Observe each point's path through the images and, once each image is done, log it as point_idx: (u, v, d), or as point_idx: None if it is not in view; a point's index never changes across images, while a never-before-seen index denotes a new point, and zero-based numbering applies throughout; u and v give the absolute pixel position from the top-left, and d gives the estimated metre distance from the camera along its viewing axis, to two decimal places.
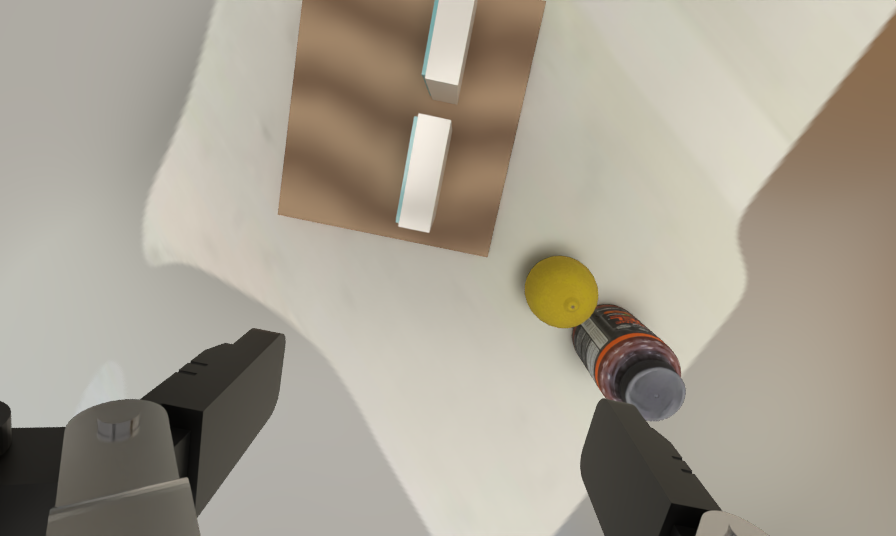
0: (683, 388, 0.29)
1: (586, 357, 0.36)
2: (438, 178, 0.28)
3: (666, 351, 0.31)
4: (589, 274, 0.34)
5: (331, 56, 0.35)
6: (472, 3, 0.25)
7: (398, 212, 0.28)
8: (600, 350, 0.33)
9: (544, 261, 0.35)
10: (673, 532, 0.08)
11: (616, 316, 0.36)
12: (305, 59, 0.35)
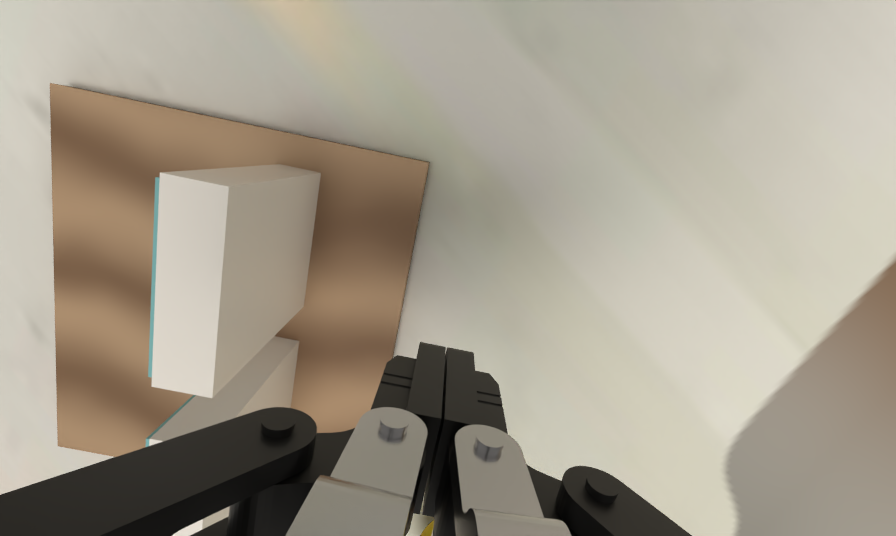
0: None
1: None
2: None
3: None
4: None
5: (106, 238, 0.23)
6: (219, 269, 0.14)
7: None
8: None
9: None
10: (450, 447, 0.09)
11: None
12: (67, 242, 0.23)
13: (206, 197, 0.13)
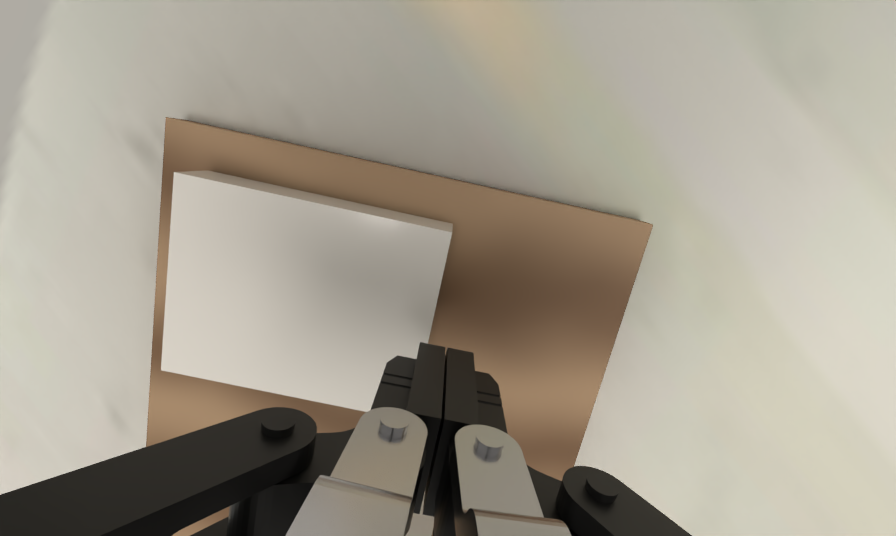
0: None
1: None
2: None
3: None
4: None
5: None
6: (170, 248, 0.15)
7: None
8: None
9: None
10: (450, 447, 0.09)
11: None
12: None
13: None
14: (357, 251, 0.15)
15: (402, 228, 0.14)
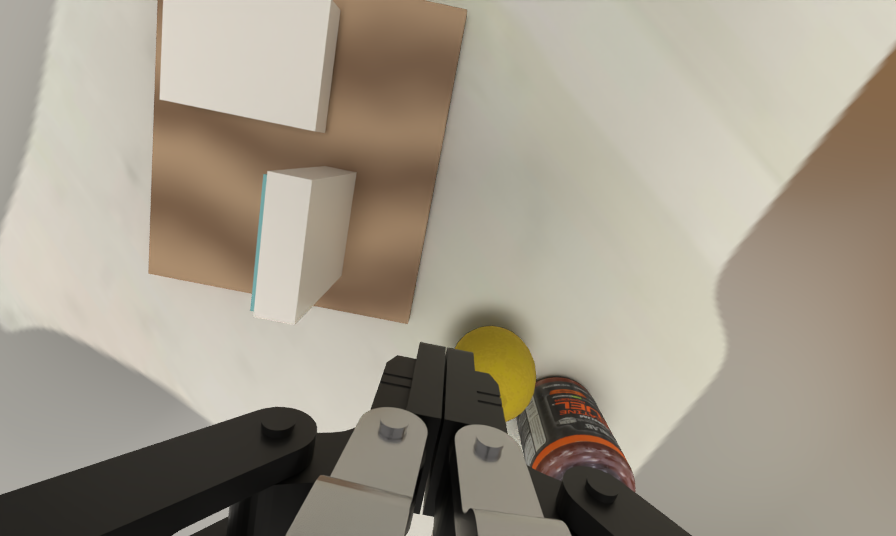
0: None
1: (524, 453, 0.29)
2: (301, 256, 0.21)
3: (615, 464, 0.24)
4: (523, 357, 0.27)
5: None
6: (163, 15, 0.25)
7: (253, 298, 0.21)
8: (536, 453, 0.27)
9: (471, 336, 0.28)
10: (450, 446, 0.09)
11: (562, 400, 0.29)
12: None
13: None
14: (275, 12, 0.24)
15: None
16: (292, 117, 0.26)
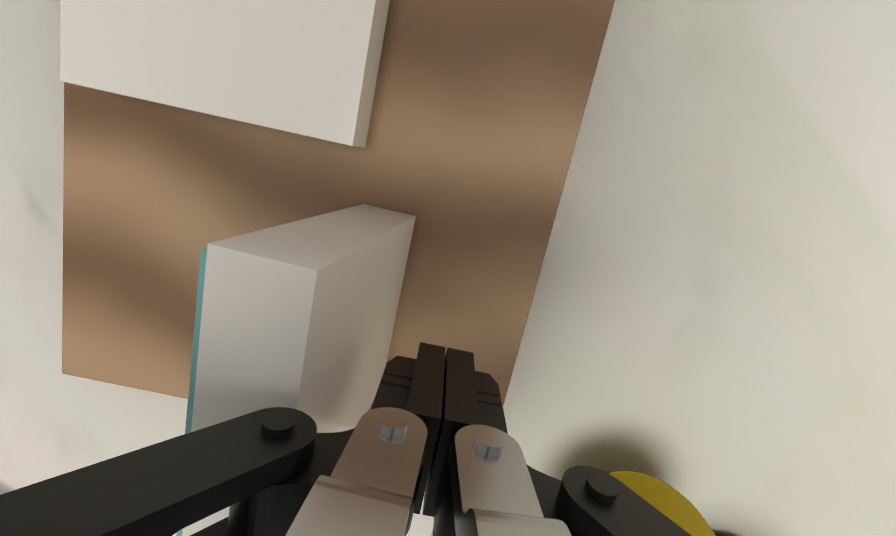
0: None
1: None
2: None
3: None
4: None
5: None
6: None
7: None
8: None
9: None
10: (450, 447, 0.09)
11: None
12: None
13: None
14: None
15: None
16: (310, 119, 0.14)
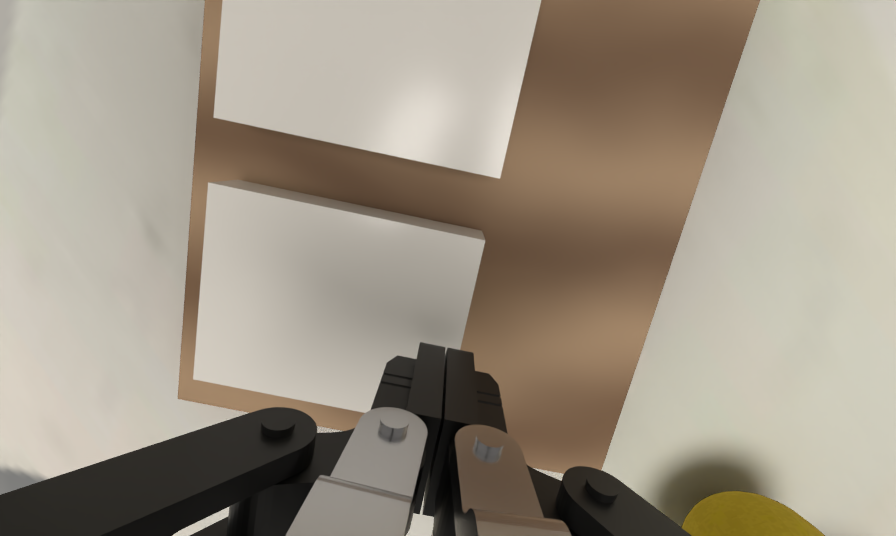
0: None
1: None
2: (201, 286, 0.15)
3: None
4: None
5: None
6: None
7: None
8: None
9: (739, 527, 0.16)
10: (450, 447, 0.09)
11: None
12: None
13: None
14: None
15: None
16: (460, 153, 0.14)
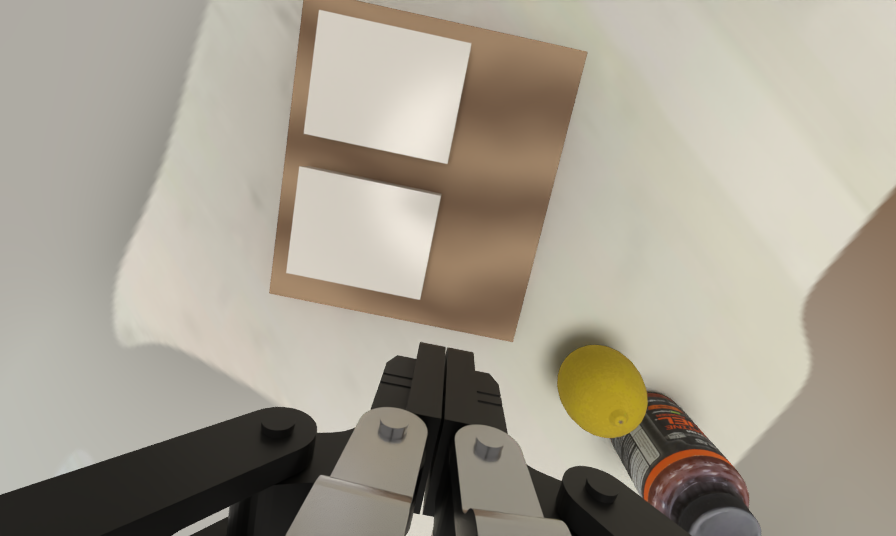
0: (759, 531, 0.24)
1: (630, 465, 0.31)
2: None
3: (733, 477, 0.26)
4: (637, 376, 0.28)
5: None
6: (313, 56, 0.26)
7: None
8: (650, 466, 0.28)
9: (582, 355, 0.30)
10: (450, 447, 0.09)
11: (664, 415, 0.31)
12: (301, 117, 0.29)
13: None
14: (418, 55, 0.26)
15: (444, 41, 0.26)
16: (427, 151, 0.27)
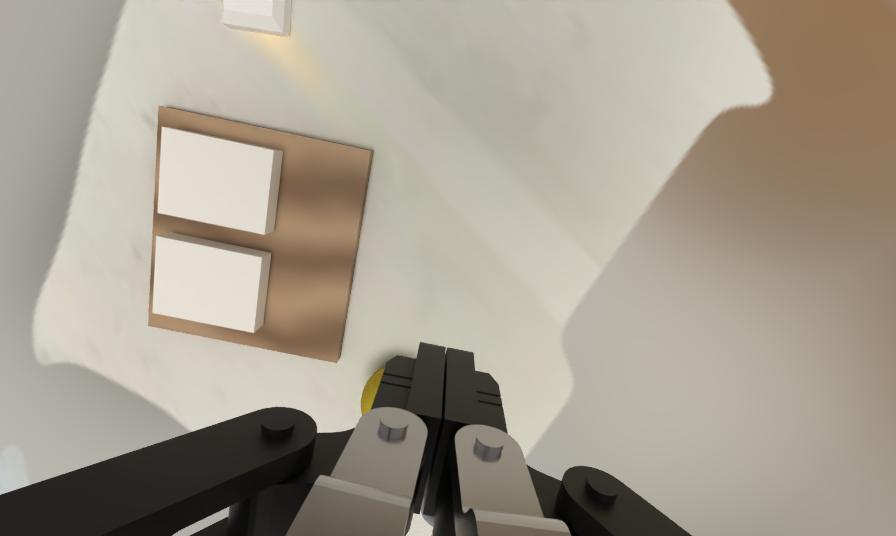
0: None
1: None
2: (154, 275, 0.39)
3: None
4: None
5: None
6: (160, 159, 0.36)
7: None
8: None
9: (377, 374, 0.40)
10: (450, 446, 0.09)
11: None
12: None
13: None
14: (236, 158, 0.36)
15: (253, 148, 0.36)
16: (248, 225, 0.37)
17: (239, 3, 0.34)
